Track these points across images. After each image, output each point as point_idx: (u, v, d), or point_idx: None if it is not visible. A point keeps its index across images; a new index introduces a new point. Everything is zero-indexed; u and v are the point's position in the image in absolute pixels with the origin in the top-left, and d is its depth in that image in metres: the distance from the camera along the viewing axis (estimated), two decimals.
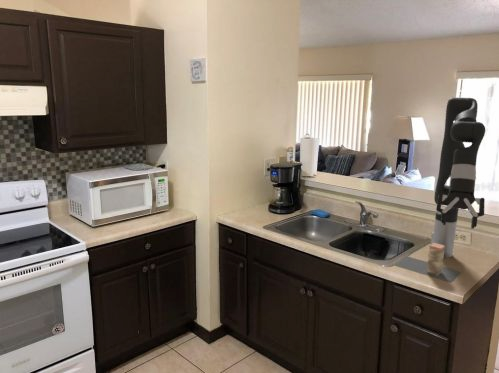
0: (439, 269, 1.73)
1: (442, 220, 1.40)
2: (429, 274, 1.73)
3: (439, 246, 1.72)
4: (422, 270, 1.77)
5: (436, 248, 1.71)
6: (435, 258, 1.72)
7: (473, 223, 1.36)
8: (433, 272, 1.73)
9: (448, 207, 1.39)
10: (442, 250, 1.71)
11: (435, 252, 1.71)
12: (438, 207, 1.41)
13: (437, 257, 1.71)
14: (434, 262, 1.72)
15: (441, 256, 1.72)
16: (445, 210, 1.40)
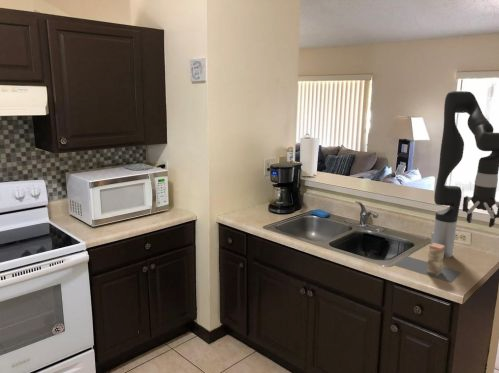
0: (439, 269, 1.73)
1: (467, 219, 1.67)
2: (429, 274, 1.73)
3: (439, 246, 1.72)
4: (422, 270, 1.77)
5: (436, 248, 1.71)
6: (435, 258, 1.72)
7: (490, 223, 1.61)
8: (433, 272, 1.73)
9: (471, 209, 1.64)
10: (442, 250, 1.71)
11: (435, 252, 1.71)
12: (464, 208, 1.67)
13: (437, 257, 1.71)
14: (434, 262, 1.72)
15: (441, 256, 1.72)
16: (469, 211, 1.65)
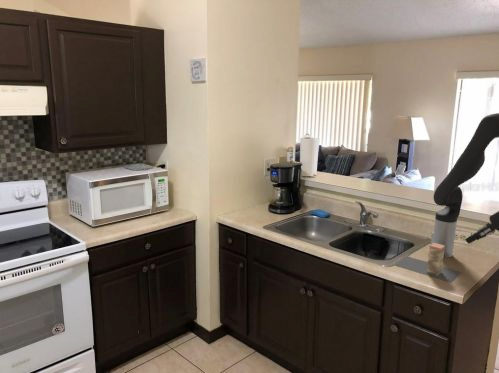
0: (439, 269, 1.73)
1: (470, 241, 1.62)
2: (429, 274, 1.73)
3: (439, 246, 1.72)
4: (422, 270, 1.77)
5: (436, 248, 1.71)
6: (435, 258, 1.72)
7: (472, 241, 1.63)
8: (433, 272, 1.73)
9: None
10: (442, 250, 1.71)
11: (435, 252, 1.71)
12: (479, 238, 1.58)
13: (437, 257, 1.71)
14: (434, 262, 1.72)
15: (441, 256, 1.72)
16: None
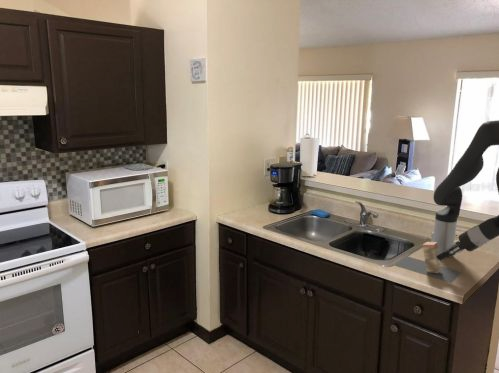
0: (438, 266, 1.73)
1: (441, 258, 1.71)
2: (429, 274, 1.73)
3: (432, 243, 1.74)
4: (422, 270, 1.77)
5: (429, 245, 1.73)
6: (430, 256, 1.73)
7: (443, 258, 1.72)
8: (432, 270, 1.73)
9: None
10: (435, 246, 1.73)
11: (429, 250, 1.73)
12: (449, 256, 1.67)
13: (432, 254, 1.72)
14: (431, 260, 1.73)
15: (436, 253, 1.73)
16: None
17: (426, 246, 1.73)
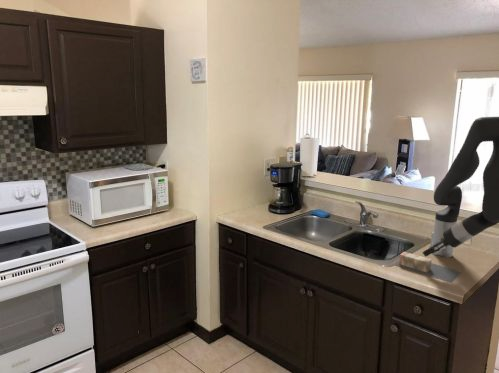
0: (423, 259, 1.77)
1: (427, 254, 1.75)
2: (429, 274, 1.73)
3: None
4: None
5: (400, 258, 1.82)
6: (410, 261, 1.79)
7: None
8: (425, 265, 1.75)
9: None
10: (405, 254, 1.83)
11: (404, 260, 1.81)
12: (434, 252, 1.71)
13: (408, 259, 1.80)
14: (414, 262, 1.78)
15: (410, 255, 1.81)
16: None
17: (400, 261, 1.82)
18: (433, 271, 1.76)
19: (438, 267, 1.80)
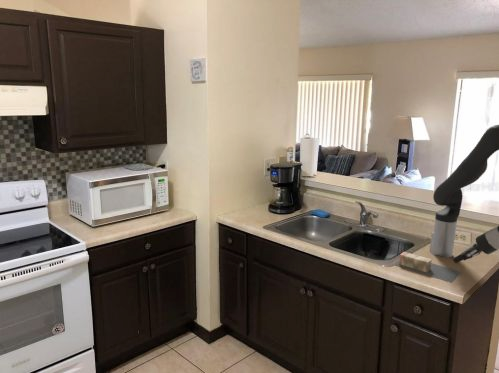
0: (423, 259, 1.77)
1: (457, 261, 1.67)
2: (429, 274, 1.73)
3: None
4: None
5: (400, 258, 1.82)
6: (410, 261, 1.79)
7: None
8: (425, 265, 1.75)
9: None
10: (405, 254, 1.83)
11: (404, 260, 1.81)
12: (466, 259, 1.63)
13: (408, 259, 1.80)
14: (414, 262, 1.78)
15: (410, 255, 1.81)
16: None
17: (400, 261, 1.82)
18: (433, 271, 1.76)
19: (438, 267, 1.80)
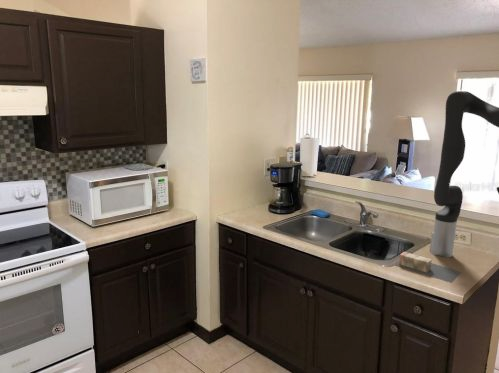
0: (423, 259, 1.77)
1: None
2: (429, 274, 1.73)
3: None
4: None
5: (400, 258, 1.82)
6: (410, 261, 1.79)
7: None
8: (425, 265, 1.75)
9: None
10: (405, 254, 1.83)
11: (404, 260, 1.81)
12: None
13: (408, 259, 1.80)
14: (414, 262, 1.78)
15: (410, 255, 1.81)
16: None
17: (400, 261, 1.82)
18: (433, 271, 1.76)
19: (438, 267, 1.80)
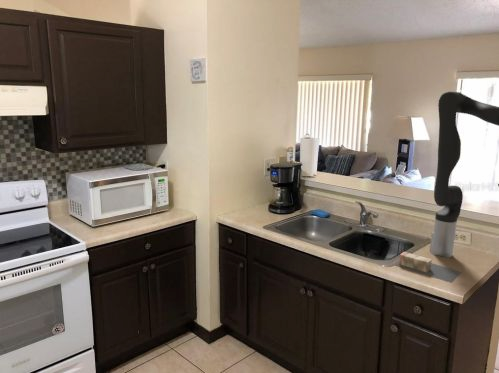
0: (423, 259, 1.77)
1: None
2: (429, 274, 1.73)
3: None
4: None
5: (400, 258, 1.82)
6: (410, 261, 1.79)
7: None
8: (425, 265, 1.75)
9: None
10: (405, 254, 1.83)
11: (404, 260, 1.81)
12: None
13: (408, 259, 1.80)
14: (414, 262, 1.78)
15: (410, 255, 1.81)
16: None
17: (400, 261, 1.82)
18: (433, 271, 1.76)
19: (438, 267, 1.80)
